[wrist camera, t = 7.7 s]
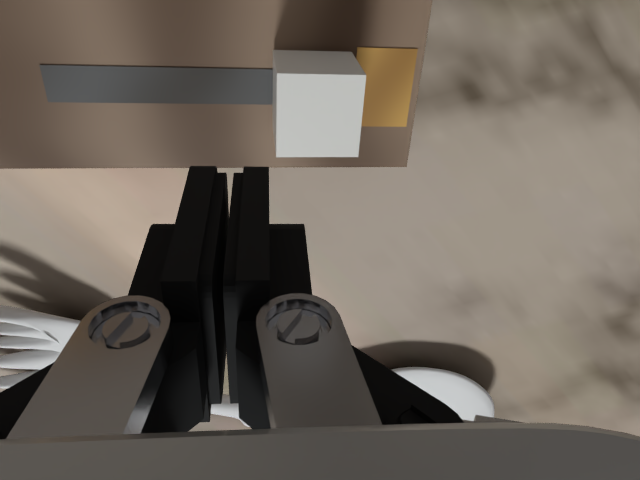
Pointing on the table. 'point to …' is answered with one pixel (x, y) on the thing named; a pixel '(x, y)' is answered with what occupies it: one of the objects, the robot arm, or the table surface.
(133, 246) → the table surface
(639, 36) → the table surface
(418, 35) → the switch board
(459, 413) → the spoon
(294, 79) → the switch
